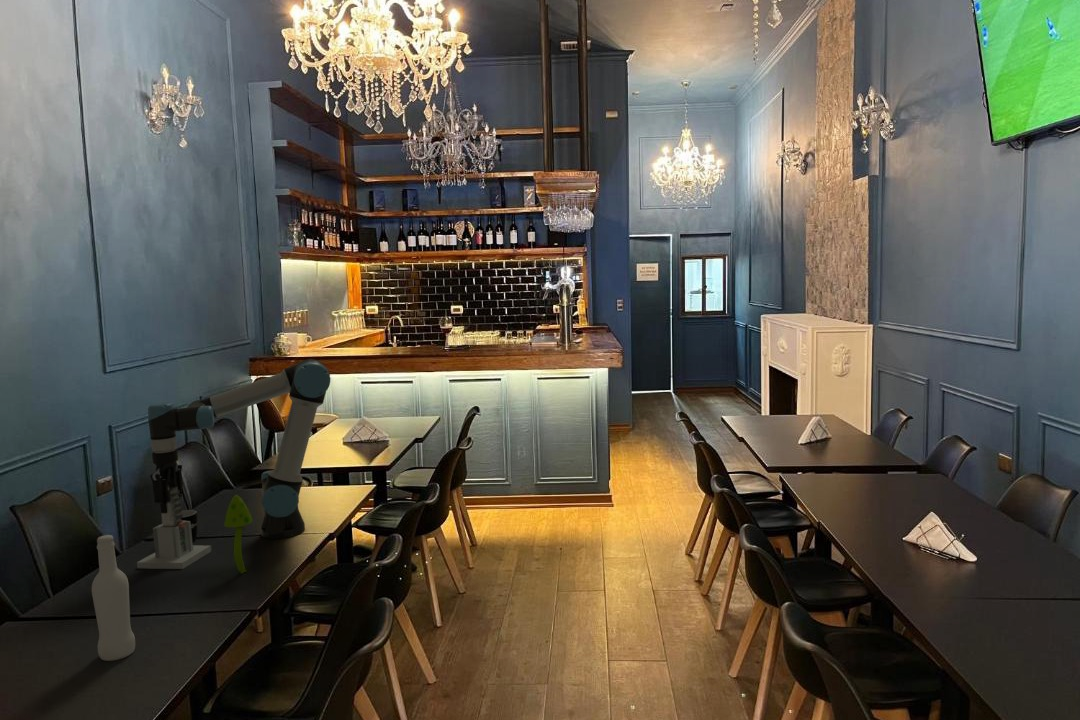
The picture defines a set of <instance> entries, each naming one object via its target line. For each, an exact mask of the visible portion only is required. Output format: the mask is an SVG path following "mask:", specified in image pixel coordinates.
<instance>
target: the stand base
mask: <svg viewBox="0 0 1080 720" xmlns="http://www.w3.org/2000/svg"><path fill="white" fill-rule="evenodd" d="M182 527H183V528H184V529H182V532H184V535H182V536H183V537H184V538H185V540H184V541H183V543H185V547H184V551H183V552H181V542H180V532H179V528H182ZM152 535H153V543H154V544H153V545H154V552H153V553H152V554H150V555H148V556H146V557H143V558H142V559H141V560H139V561H137V562H136V565H137V569H158V570H163V569H164V570H171V569H172V570H184V569H185V568H187V567H188V566H191V564H193V563H195V562H196V561H198V560H199V559H201V558H203V557H205V556H206V555H208V554H209V553H211V552H212V545H195V544H194V543H193V542H192V533H191V523H190V521H183V522H182V523H180V524H179V527H176V528H174V527H163V525H162V523H161V524H159V525H157V526H155V527H152ZM193 544H194V545H193Z"/></svg>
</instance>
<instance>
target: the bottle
mask: <svg viewBox="0 0 1080 720" xmlns="http://www.w3.org/2000/svg"><path fill="white" fill-rule="evenodd" d="M96 543H97V545H96V549H97V554H98V566H99V571H98V573H97V574H96V575H95V577H94V579H93V581H92V584H91V595H92V600H93V601H92V602H93V606H94V607H93V608H94V612H95V617H96V622H97V628H98V634H99V636H98V637H99V638H98V641H97V653H98V656H99V658H100V659H101V660H103V661H107V662H112V661H118V660H122V659H125V658H127V657H128V656H130V655H131V654H133V653H134V651H135V648H136V638H135V633H134V632H133V631H132V630H133V629H132V628H131V610H130V609H131V608H130V584H129V580H128V577H127V575H126V573H124V572H123V571H122V570H121V569H119V568H118V565H117V559H116V551H115V542H114V536H113V534H112V535H111V534H104V535H101V536H98V538H97V539H96Z"/></svg>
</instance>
